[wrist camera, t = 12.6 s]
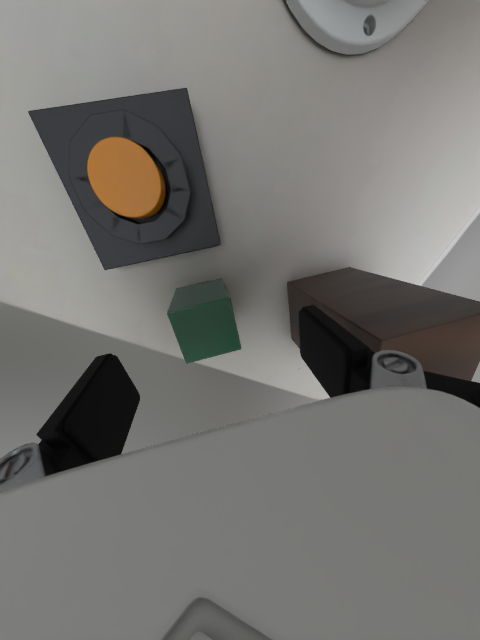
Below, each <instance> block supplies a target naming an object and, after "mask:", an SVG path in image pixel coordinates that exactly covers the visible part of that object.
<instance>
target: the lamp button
mask: <svg viewBox="0 0 480 640" xmlns="http://www.w3.org/2000/svg"><path fill="white" fill-rule="evenodd" d="M87 171H88V177H89V181H90V184H91V186H92V188H93V190H94V192H95V194H96V195H97V197H98V198H99V199H100V201H101V202H102V203H103V204H104V205H105V206H107V207H108V208H109V209H110V210H112V211H113V212H115V213H117V214H119V215H122V216H125V217H131V218H138V219H143V218H148V217H151V216H153V215H155V214H156V213H157V212H158V211H159V210H160V209H161V207H162V206H163V203H164V200H165V195H166V188H165V182H164V179H163V176H162V174H161V172H160V170H159V168H158V167H157V165H156V164H155V162H154V161H153V159H152V158H151V157H150V155H149V154H148V153H147V152H146V151H145V150H144V149H143V148H142V147H141V146H139V145H138V144H136V143H135V142H133V141H131V140H129V139H126V138H122V137H109V138H105V139H103V140H101V141H100V142H98V143H97V144H96V145H95V146H94V147H93V149H92V150H91V152H90V154H89V158H88V163H87Z"/></svg>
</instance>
